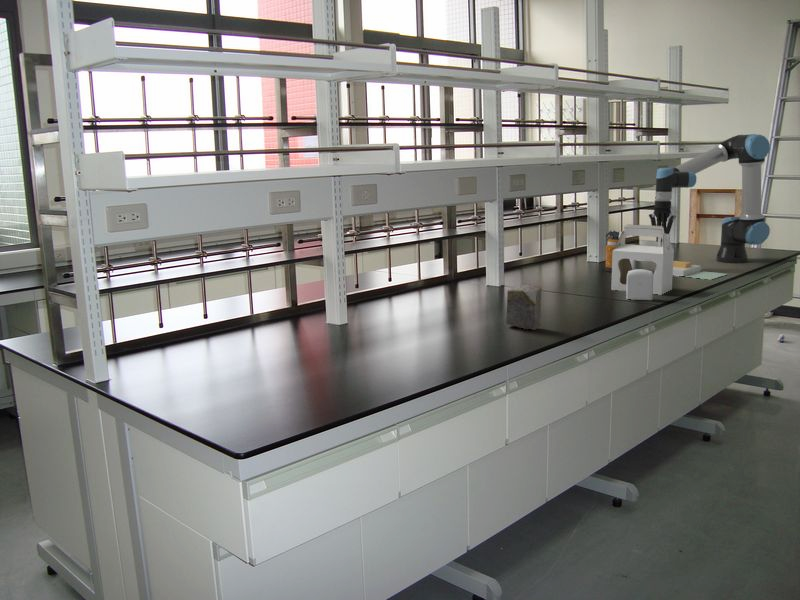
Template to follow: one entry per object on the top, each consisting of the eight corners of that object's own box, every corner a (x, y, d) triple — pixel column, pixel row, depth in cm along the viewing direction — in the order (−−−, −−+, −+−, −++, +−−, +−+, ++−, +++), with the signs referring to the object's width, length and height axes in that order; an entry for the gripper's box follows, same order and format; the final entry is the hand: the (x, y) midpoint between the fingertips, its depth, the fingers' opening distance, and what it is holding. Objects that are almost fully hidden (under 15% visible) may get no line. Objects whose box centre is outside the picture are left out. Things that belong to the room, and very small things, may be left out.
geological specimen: (505, 327, 256) (506, 285, 253) (513, 324, 261) (513, 283, 258) (534, 331, 250) (535, 288, 247) (541, 327, 255) (542, 285, 252)
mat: (702, 272, 353) (702, 271, 353) (727, 274, 345) (727, 274, 345) (685, 277, 341) (685, 276, 341) (710, 280, 333) (710, 279, 333)
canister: (612, 273, 355) (614, 232, 351) (598, 270, 365) (600, 230, 361) (628, 272, 358) (629, 231, 354) (613, 268, 368) (615, 229, 364)
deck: (673, 268, 364) (673, 262, 364) (700, 271, 354) (701, 265, 353) (655, 273, 352) (655, 267, 352) (683, 277, 342) (683, 270, 342)
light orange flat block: (667, 266, 354) (667, 262, 354) (673, 264, 358) (673, 260, 358) (685, 268, 348) (685, 264, 348) (691, 266, 352) (691, 262, 352)
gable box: (610, 290, 316) (612, 225, 311) (622, 285, 327) (624, 222, 321) (662, 295, 303) (665, 228, 297) (672, 290, 313) (676, 225, 307)
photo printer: (625, 300, 296) (627, 269, 293) (625, 297, 300) (627, 268, 297) (652, 301, 293) (654, 270, 290) (652, 299, 297) (653, 268, 294)
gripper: (646, 200, 356) (643, 248, 361) (672, 201, 347) (668, 250, 352) (654, 199, 361) (651, 246, 366) (679, 200, 352) (676, 249, 357)
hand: (660, 248), depth 359 cm, fingers closed
